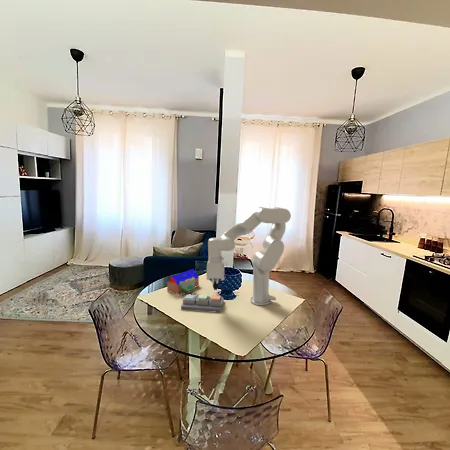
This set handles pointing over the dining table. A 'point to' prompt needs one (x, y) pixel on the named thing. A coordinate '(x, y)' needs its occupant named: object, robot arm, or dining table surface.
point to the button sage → (203, 297)
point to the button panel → (202, 304)
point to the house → (175, 280)
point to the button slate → (190, 297)
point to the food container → (187, 286)
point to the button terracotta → (216, 298)
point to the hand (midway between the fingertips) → (215, 289)
